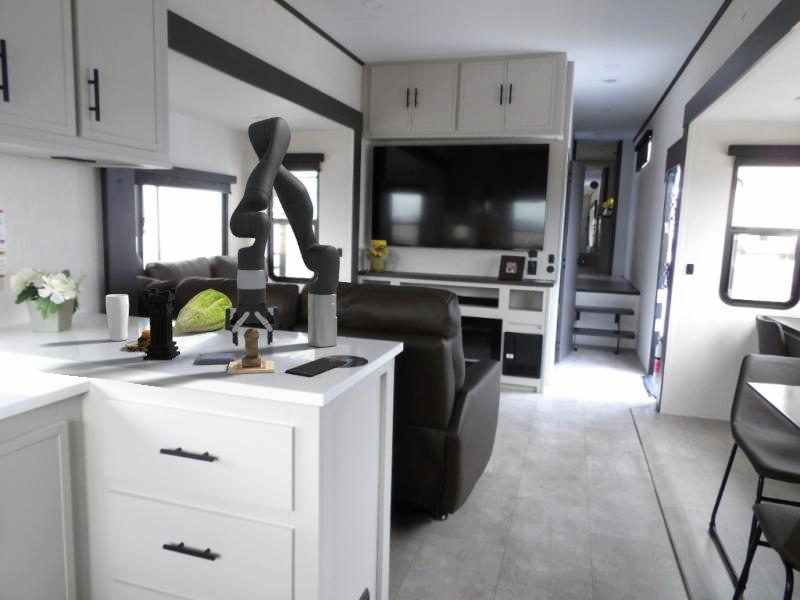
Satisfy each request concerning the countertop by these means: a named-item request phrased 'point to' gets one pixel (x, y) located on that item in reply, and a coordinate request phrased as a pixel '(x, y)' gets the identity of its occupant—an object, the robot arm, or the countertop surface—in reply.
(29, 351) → the countertop surface
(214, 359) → the ink pad
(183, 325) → the lettuce
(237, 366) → the board
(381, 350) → the countertop surface
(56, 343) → the countertop surface
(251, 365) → the stamp
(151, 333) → the chess piece
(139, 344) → the burger
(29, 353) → the countertop surface
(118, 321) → the drinking glass
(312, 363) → the cell phone
